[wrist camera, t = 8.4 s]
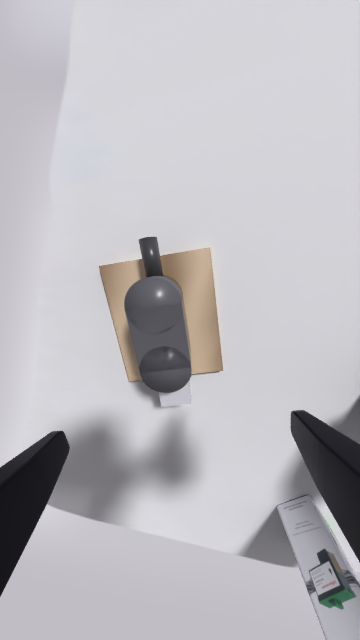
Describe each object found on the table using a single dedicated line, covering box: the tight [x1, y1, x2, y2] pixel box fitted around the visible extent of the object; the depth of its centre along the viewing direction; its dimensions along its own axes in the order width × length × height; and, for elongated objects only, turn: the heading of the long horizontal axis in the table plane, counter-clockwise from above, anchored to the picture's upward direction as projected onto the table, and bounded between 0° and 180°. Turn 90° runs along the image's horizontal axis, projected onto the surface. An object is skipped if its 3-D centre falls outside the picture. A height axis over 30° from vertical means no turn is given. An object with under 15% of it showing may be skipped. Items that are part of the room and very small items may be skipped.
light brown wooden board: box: [99, 248, 223, 382], centre depth 18 cm, size 10×12×1 cm
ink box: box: [277, 495, 360, 640], centre depth 20 cm, size 9×5×12 cm, turn 33°
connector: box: [124, 237, 192, 407], centre depth 15 cm, size 4×15×4 cm, turn 9°
